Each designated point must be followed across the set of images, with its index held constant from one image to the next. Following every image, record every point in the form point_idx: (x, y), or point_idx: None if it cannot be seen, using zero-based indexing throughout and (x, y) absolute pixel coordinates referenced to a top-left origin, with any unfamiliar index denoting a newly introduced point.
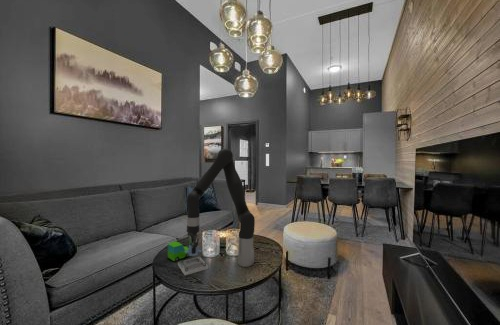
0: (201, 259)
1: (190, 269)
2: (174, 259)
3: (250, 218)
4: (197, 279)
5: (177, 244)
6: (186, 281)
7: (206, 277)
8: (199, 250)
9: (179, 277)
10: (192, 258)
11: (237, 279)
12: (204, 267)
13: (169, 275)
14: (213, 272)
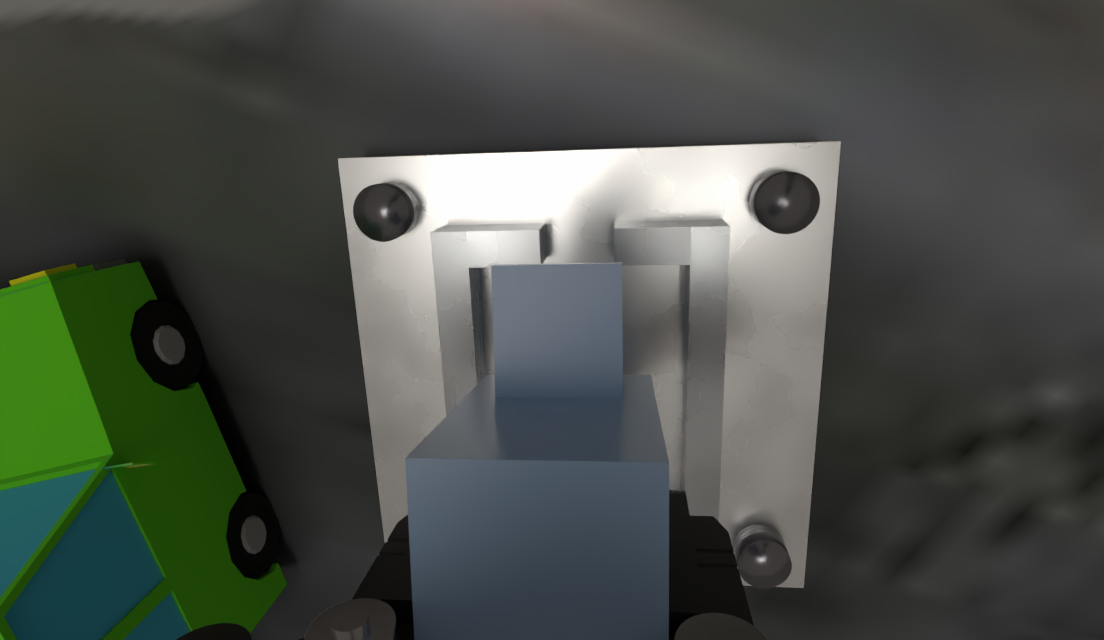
0: (488, 169)
1: (778, 486)
2: (270, 586)
3: None
4: (1041, 427)
5: None
6: (975, 576)
7: (1095, 276)
8: (546, 314)
9: (795, 619)
10: (444, 365)
11: None
12: (826, 219)
13: None
14: (1021, 86)
